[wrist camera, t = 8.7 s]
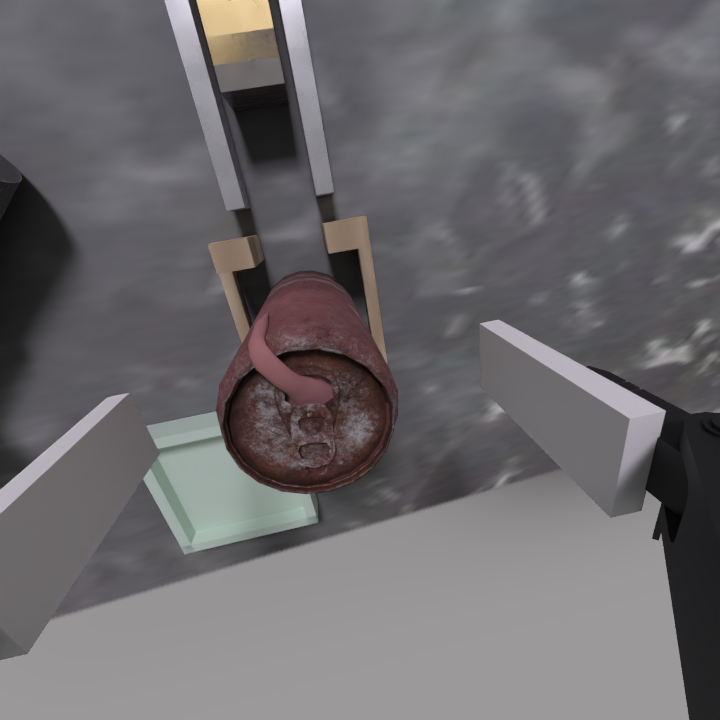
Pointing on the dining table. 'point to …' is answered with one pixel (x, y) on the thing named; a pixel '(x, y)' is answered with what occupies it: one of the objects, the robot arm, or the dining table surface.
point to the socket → (336, 239)
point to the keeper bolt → (244, 52)
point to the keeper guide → (212, 109)
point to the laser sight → (7, 183)
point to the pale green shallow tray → (215, 489)
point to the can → (307, 391)
